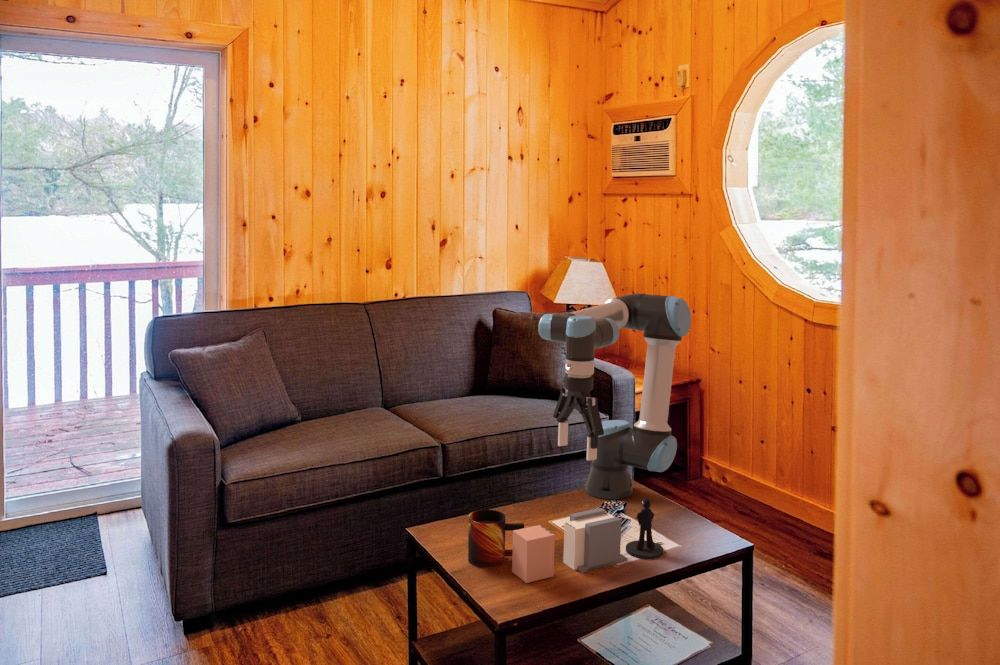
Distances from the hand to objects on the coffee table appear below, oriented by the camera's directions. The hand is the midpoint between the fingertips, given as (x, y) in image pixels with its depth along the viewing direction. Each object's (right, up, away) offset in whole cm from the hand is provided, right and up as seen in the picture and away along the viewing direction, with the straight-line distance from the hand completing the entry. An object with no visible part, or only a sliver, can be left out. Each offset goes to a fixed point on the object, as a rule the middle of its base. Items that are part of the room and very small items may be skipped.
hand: (576, 452), depth 223 cm
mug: (-22, -28, -3) cm, 36 cm away
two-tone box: (+3, -28, -4) cm, 28 cm away
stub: (-12, -29, -13) cm, 34 cm away
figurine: (+19, -27, +2) cm, 33 cm away
